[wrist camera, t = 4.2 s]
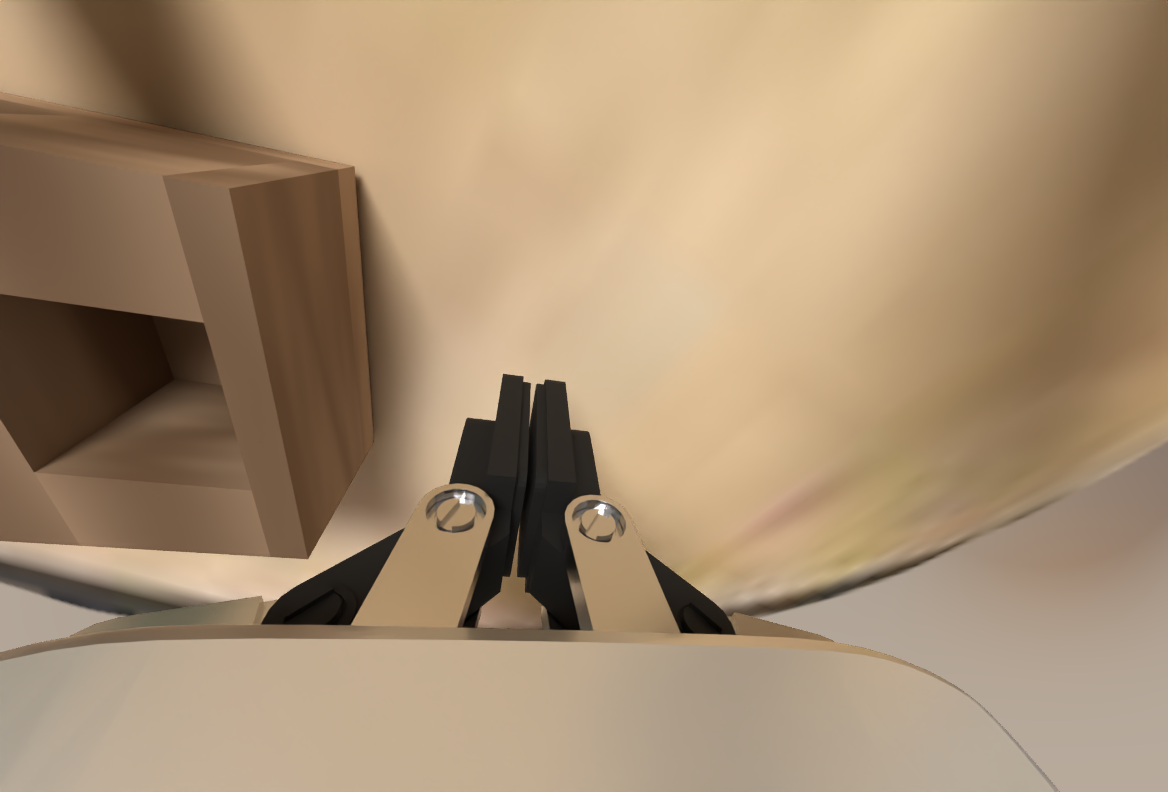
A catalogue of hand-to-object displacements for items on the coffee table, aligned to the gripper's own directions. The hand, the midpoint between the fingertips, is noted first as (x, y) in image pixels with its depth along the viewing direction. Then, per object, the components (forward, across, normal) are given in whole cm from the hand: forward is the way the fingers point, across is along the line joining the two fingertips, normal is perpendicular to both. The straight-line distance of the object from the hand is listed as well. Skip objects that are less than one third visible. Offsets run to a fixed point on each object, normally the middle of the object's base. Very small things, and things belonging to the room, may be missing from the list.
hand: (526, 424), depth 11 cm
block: (+4, +10, -1) cm, 10 cm away
